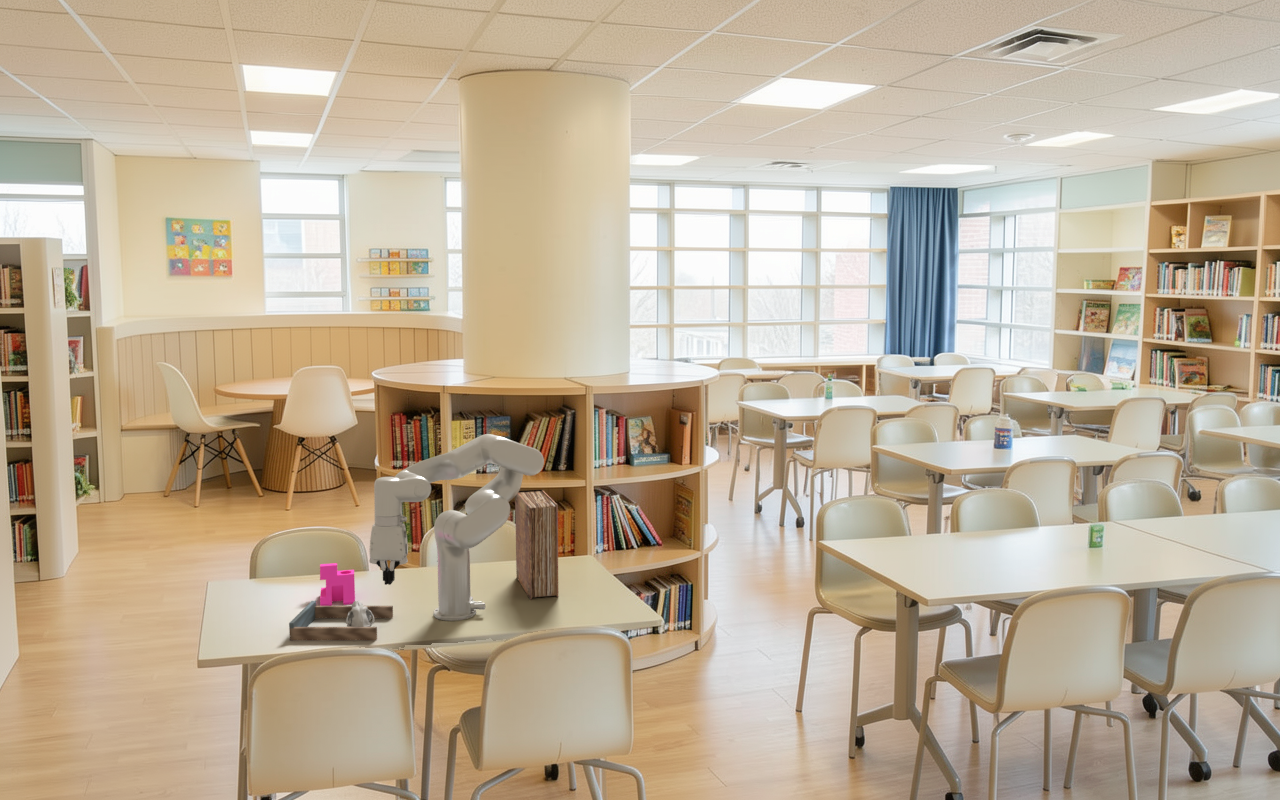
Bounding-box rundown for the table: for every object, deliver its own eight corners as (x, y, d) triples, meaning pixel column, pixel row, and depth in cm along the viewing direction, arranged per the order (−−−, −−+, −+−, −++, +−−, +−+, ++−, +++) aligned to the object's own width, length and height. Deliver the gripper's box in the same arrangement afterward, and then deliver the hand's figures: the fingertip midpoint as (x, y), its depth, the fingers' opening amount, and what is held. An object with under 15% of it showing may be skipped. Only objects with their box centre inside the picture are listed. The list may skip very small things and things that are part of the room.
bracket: (321, 595, 310) (320, 564, 309) (354, 592, 313) (353, 561, 312) (320, 607, 299) (319, 574, 298) (355, 604, 302) (353, 572, 300)
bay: (393, 617, 290) (392, 600, 289) (376, 640, 270) (375, 623, 270) (312, 617, 289) (311, 600, 289) (289, 640, 270) (289, 623, 270)
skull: (347, 629, 272) (342, 592, 279) (348, 644, 278) (343, 607, 285) (375, 624, 274) (370, 587, 281) (376, 639, 281) (370, 603, 288)
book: (558, 597, 308) (557, 504, 305) (529, 600, 306) (528, 506, 302) (542, 575, 332) (542, 489, 329) (516, 577, 330) (515, 490, 326)
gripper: (417, 518, 280) (417, 580, 282) (365, 517, 280) (366, 579, 282) (411, 523, 273) (411, 587, 274) (358, 523, 272) (359, 586, 274)
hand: (388, 583), depth 278 cm, fingers closed
